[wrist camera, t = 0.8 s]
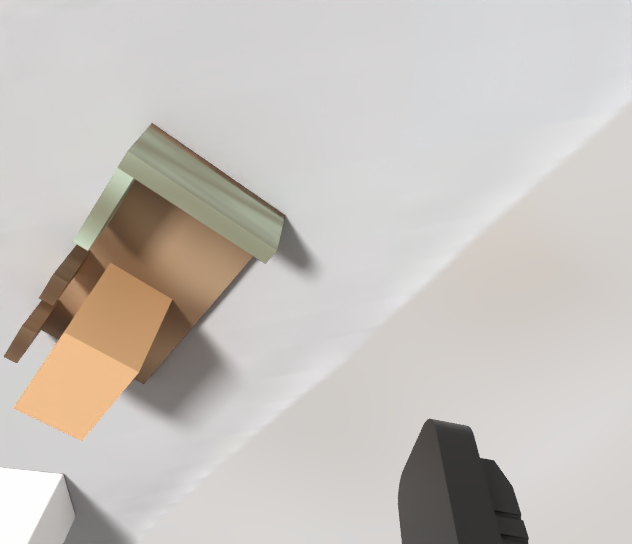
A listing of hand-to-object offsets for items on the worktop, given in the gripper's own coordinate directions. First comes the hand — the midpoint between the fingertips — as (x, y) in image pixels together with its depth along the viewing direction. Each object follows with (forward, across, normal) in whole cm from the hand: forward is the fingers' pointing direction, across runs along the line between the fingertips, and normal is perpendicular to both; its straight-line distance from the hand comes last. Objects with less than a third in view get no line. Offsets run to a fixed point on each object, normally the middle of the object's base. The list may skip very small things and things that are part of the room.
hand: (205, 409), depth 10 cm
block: (+20, +8, +14) cm, 26 cm away
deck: (+20, +6, +11) cm, 24 cm away
